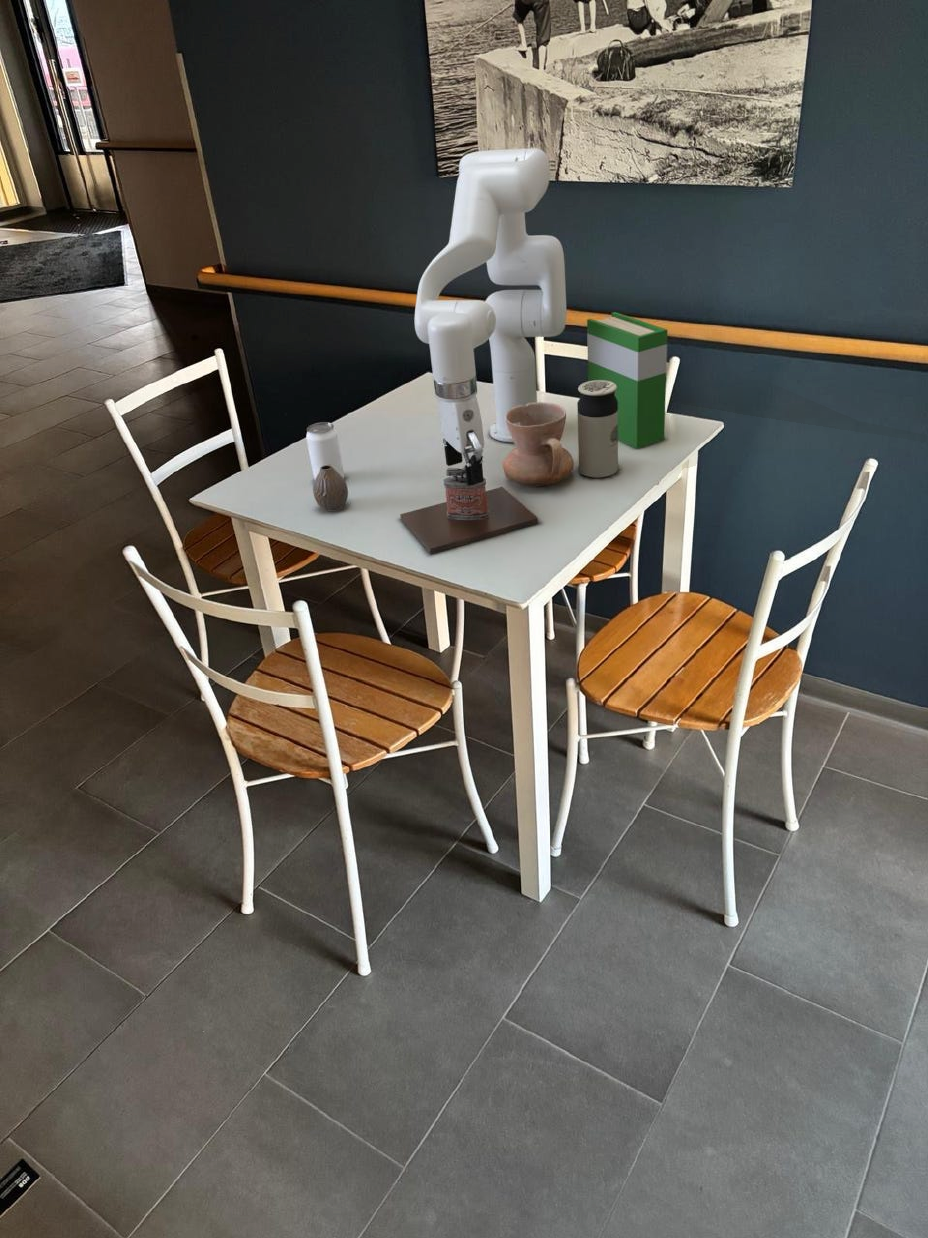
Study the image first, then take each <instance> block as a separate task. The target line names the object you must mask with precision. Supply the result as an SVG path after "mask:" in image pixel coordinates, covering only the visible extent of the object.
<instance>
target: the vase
mask: <svg viewBox="0 0 928 1238" xmlns="http://www.w3.org/2000/svg"><path fill="white" fill-rule="evenodd" d="M312 492H313V497H314V500H315V502H316V504H317V505H318V506H319V507H320V508H321V509H323V510H325V511H326V512H335V511H338V510H340V509H342V508H343V507H344V506H345V505H346V503H347V501H348V497H349V489H348V485H347V482H346V480H345V477H344V478H343V477H342V476H341V475H340V474H339V473H338V472H337V471H336V470H335V469H334V468H333V467H332V466H331V465H324V466H322V467H321V468H320V471H319V473H318V475H317V477H316V479H315V480H314V481H313V485H312Z"/></svg>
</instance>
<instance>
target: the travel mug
mask: <svg viewBox="0 0 928 1238" xmlns="http://www.w3.org/2000/svg"><path fill="white" fill-rule="evenodd" d="M616 388H617V386H616V384H614V383H613V382H610V381H604V380H595V381H589V382H588V381H585V382H582V383H581V384H580V385H579V386H578V388H577V390H578V392H579V395H580V396H579V399H578V401H577V403H576V405H577V406H576V407H577V444H578V445H577V446H578V447H577V448H578V450H577V452H578V472H579V473H580V474H581V475H583V476H585V477H588V478H595V479H599V478H606V477H610V476H612V475H614V474H615V473H617V471H618V469H619V453H618V452H619V450H618V449H619V440H618V401H617V399H616V397H615V395H614V394H615V390H616Z"/></svg>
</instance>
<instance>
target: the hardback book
mask: <svg viewBox="0 0 928 1238" xmlns="http://www.w3.org/2000/svg"><path fill="white" fill-rule="evenodd" d="M586 335H587V336H586V337H587V339H586V340H587V345H586V346H587V382H589V381H595V380H604V381H610V382H613V383H614V384H616V386H617V388H616V390H615V394H614V395H615V397H616V399H617V401H618V441H620V442H622V443H624V444H626V445H628V446H630V447H633V448H634V449H641V448H644V447H646V446H649V445H652V444H656V443H659V442H661V441H664V440H665V425H666V424H665V423H666V419H665V418H666V392H667V390H666V389H667V361H668V358H667V357H668V328H664V327H662V326H658V325H655V324H651V323H649V322H646V321H644V320H641V319H637V318H634V317H631V316H629V315H625V314H622V313H620V312H617V311H616V312H615V311H614V312H611V316H610V317H606V318H603V319H599V320H596V319H594V318H587V319H586Z"/></svg>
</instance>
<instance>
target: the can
mask: <svg viewBox="0 0 928 1238" xmlns="http://www.w3.org/2000/svg"><path fill="white" fill-rule="evenodd" d="M306 431H307V432H306V435H305V436H306V444H307V449H308V453H309V459H310V464H311V470H312V475H313V479H314V481H315V479H316V477H317V475H318V473H319V471H320V468H321V467H322V466H324V465H331V466H332V467H333V468H334V469H335V470H336V471H337V472H338V473H339V474H340V475H341V476H342V477H343V478H344V479H345V472H344V467H343V466H344V465H343V459H342V453H341V448H340V443H339V436H338V431H337V430H336V428H335V426H334V423H332V422H328V421H322V422H316V423H313V424H310V425H308V427H307V428H306Z"/></svg>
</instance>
